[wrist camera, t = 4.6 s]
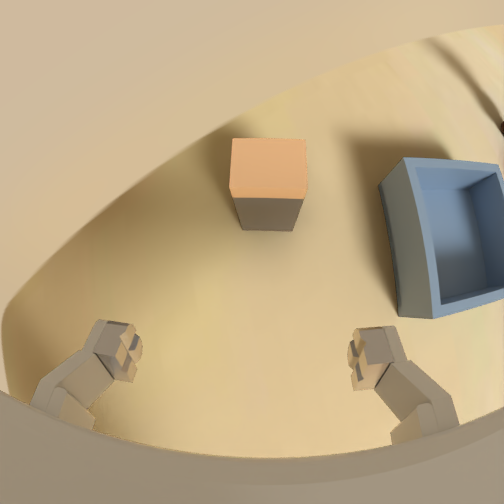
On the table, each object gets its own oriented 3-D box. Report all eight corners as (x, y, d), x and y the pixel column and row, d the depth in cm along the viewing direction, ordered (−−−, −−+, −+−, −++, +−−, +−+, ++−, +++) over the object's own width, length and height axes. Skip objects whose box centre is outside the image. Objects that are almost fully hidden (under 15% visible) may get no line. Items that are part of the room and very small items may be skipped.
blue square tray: (487, 294, 21) (524, 290, 16) (398, 316, 21) (432, 319, 16) (467, 185, 23) (498, 164, 18) (378, 185, 23) (403, 157, 18)
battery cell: (292, 231, 23) (307, 188, 14) (242, 230, 23) (229, 187, 14) (292, 196, 24) (305, 139, 15) (244, 195, 24) (232, 138, 15)
